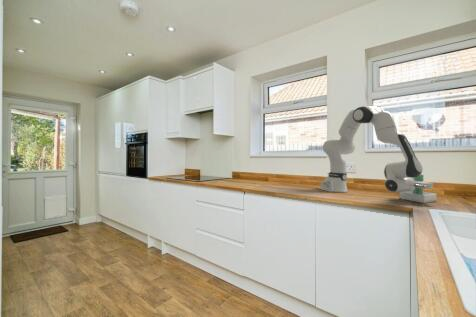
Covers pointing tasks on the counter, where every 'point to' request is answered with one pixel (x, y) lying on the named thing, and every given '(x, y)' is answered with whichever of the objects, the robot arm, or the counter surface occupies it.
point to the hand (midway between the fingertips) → (418, 183)
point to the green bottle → (418, 190)
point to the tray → (418, 196)
